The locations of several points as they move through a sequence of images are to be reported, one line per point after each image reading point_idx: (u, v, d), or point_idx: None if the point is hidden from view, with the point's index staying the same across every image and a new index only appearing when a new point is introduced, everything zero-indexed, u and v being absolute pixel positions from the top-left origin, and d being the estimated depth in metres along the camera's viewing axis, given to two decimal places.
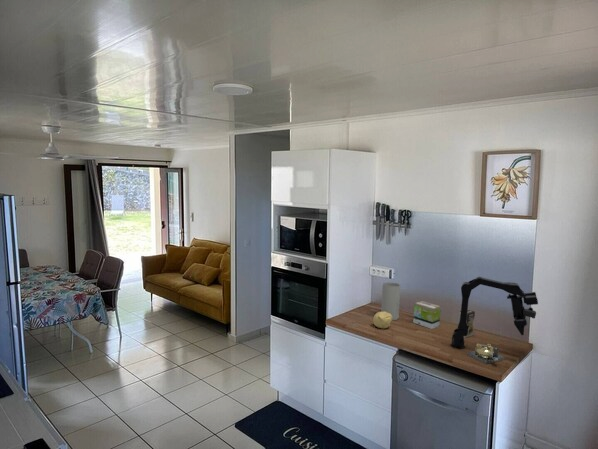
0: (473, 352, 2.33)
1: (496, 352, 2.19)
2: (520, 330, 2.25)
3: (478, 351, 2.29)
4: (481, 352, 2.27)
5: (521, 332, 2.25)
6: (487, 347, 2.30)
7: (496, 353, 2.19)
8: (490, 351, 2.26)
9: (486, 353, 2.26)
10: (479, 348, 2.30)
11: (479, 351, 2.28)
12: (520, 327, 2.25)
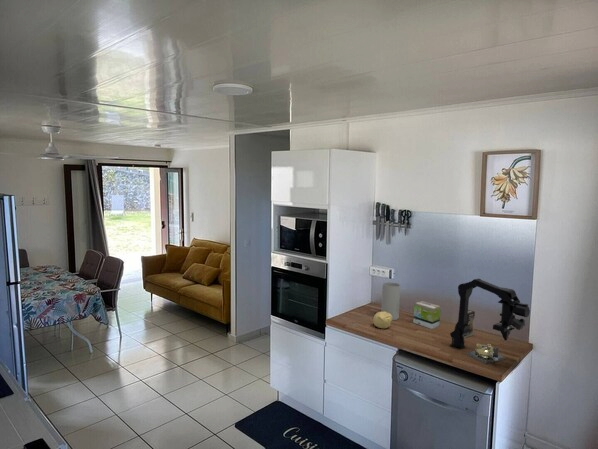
0: (473, 352, 2.33)
1: (496, 352, 2.19)
2: (503, 335, 2.21)
3: (478, 351, 2.29)
4: (481, 352, 2.27)
5: (504, 337, 2.21)
6: (487, 347, 2.30)
7: (496, 353, 2.19)
8: (490, 351, 2.26)
9: (486, 353, 2.26)
10: (479, 348, 2.30)
11: (479, 351, 2.28)
12: (504, 332, 2.21)
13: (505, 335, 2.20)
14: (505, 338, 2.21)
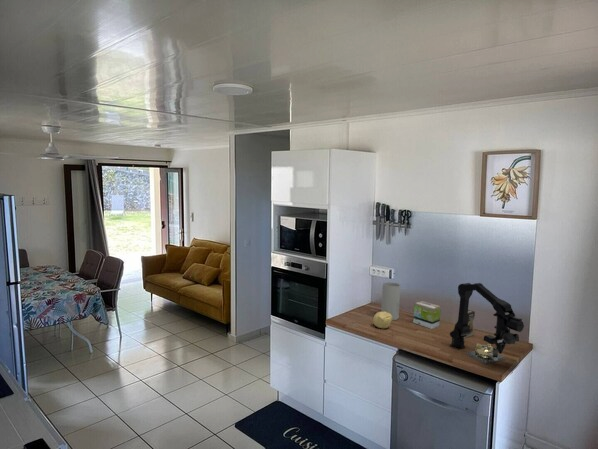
0: (473, 352, 2.33)
1: (496, 352, 2.19)
2: (497, 347, 2.21)
3: (478, 351, 2.29)
4: (481, 352, 2.27)
5: (498, 350, 2.21)
6: (487, 347, 2.30)
7: (496, 353, 2.19)
8: (490, 351, 2.26)
9: (486, 353, 2.26)
10: (479, 348, 2.30)
11: (479, 351, 2.28)
12: (498, 345, 2.20)
13: (499, 348, 2.20)
14: (499, 351, 2.20)
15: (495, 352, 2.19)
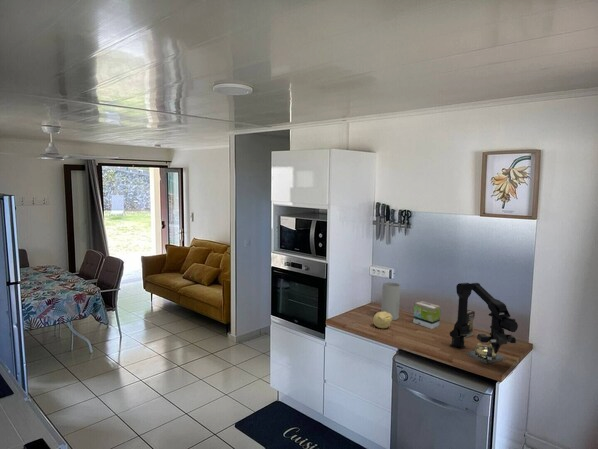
0: (473, 352, 2.33)
1: (489, 351, 2.19)
2: (493, 347, 2.21)
3: (476, 350, 2.30)
4: (478, 351, 2.28)
5: (494, 350, 2.20)
6: (487, 347, 2.30)
7: (489, 352, 2.19)
8: None
9: (483, 352, 2.26)
10: (478, 347, 2.31)
11: (477, 350, 2.30)
12: (493, 344, 2.20)
13: (493, 348, 2.20)
14: (494, 351, 2.20)
15: (488, 351, 2.19)
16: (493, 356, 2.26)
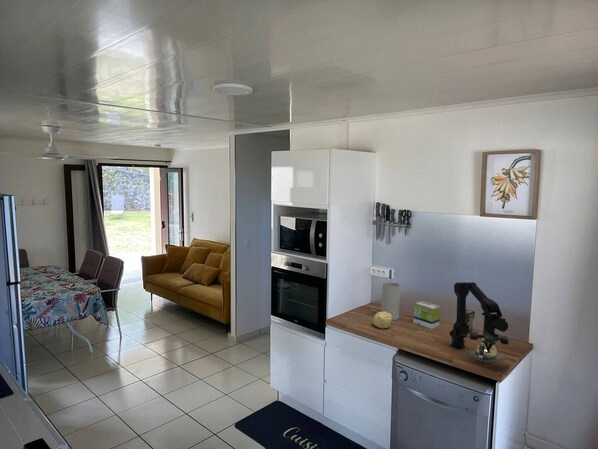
0: (473, 352, 2.33)
1: (480, 350, 2.21)
2: (486, 346, 2.21)
3: None
4: (476, 349, 2.30)
5: None
6: None
7: (480, 351, 2.21)
8: (485, 350, 2.27)
9: None
10: (478, 346, 2.33)
11: None
12: None
13: (486, 347, 2.21)
14: None
15: (480, 350, 2.21)
16: (490, 356, 2.25)
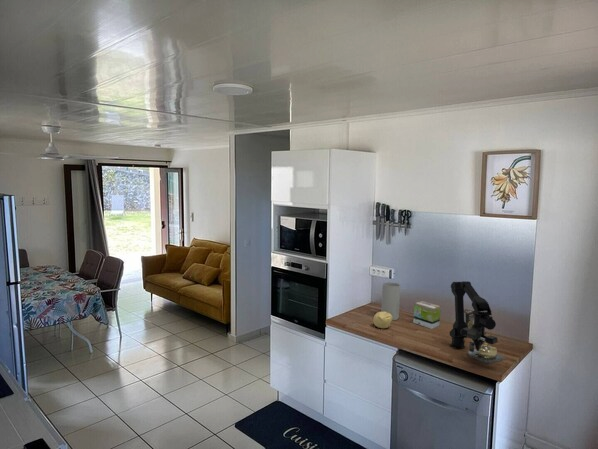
0: None
1: (469, 346, 2.26)
2: None
3: None
4: None
5: None
6: (486, 347, 2.30)
7: (469, 347, 2.26)
8: (480, 349, 2.29)
9: None
10: None
11: None
12: None
13: None
14: None
15: (469, 345, 2.27)
16: (484, 355, 2.26)
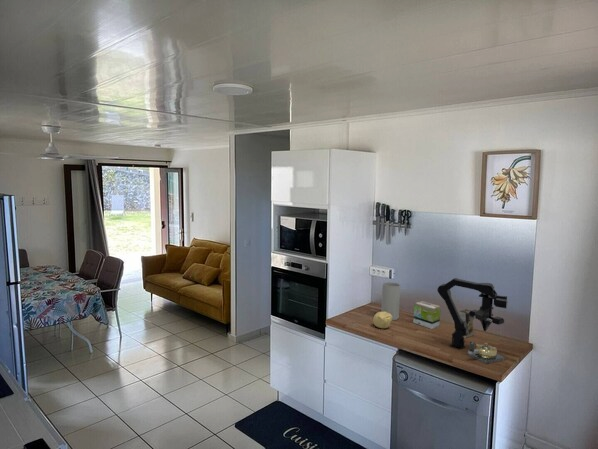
0: None
1: (469, 346, 2.26)
2: None
3: None
4: None
5: None
6: (486, 347, 2.30)
7: (469, 347, 2.26)
8: (480, 349, 2.29)
9: (476, 349, 2.31)
10: (480, 345, 2.34)
11: None
12: None
13: None
14: None
15: (469, 345, 2.27)
16: (484, 355, 2.26)
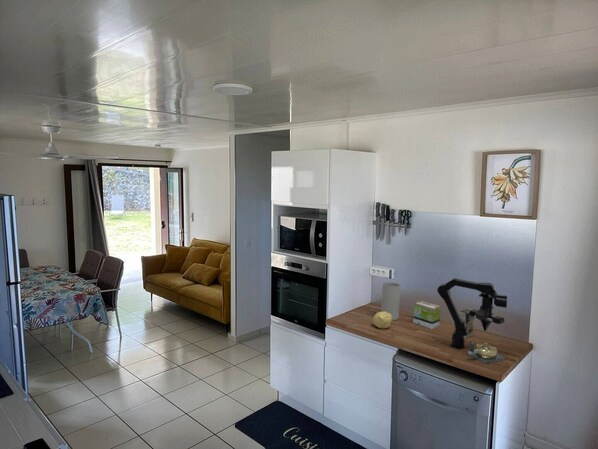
0: None
1: (469, 346, 2.26)
2: None
3: None
4: None
5: None
6: (486, 347, 2.30)
7: (469, 347, 2.26)
8: (480, 349, 2.29)
9: (476, 349, 2.31)
10: (480, 345, 2.34)
11: None
12: None
13: None
14: None
15: (469, 345, 2.27)
16: (484, 355, 2.26)
